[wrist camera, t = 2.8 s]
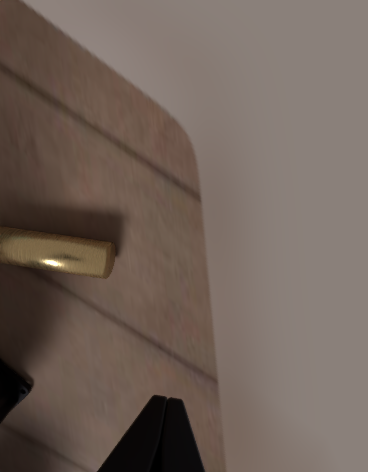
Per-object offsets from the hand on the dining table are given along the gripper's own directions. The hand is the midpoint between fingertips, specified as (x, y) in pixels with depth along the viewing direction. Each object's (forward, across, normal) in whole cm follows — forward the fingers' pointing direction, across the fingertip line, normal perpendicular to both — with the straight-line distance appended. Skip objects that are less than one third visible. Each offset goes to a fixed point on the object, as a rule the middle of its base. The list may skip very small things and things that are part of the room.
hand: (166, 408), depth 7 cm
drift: (+12, +10, 0) cm, 15 cm away
